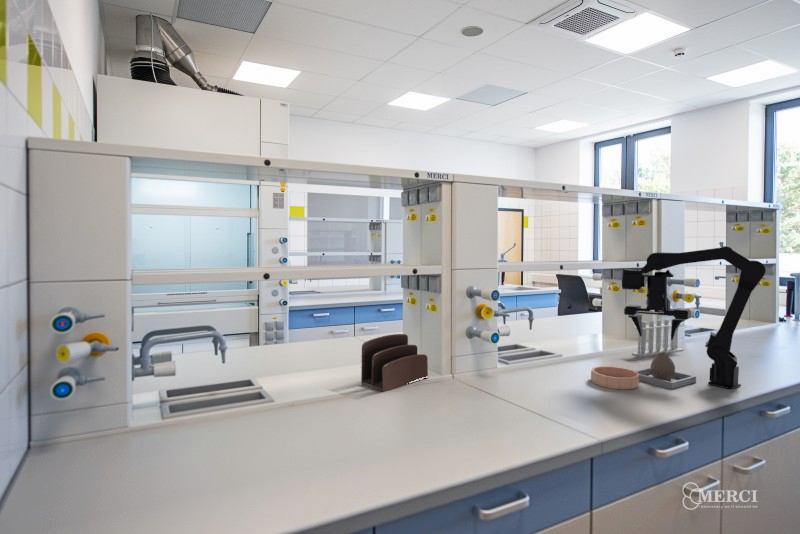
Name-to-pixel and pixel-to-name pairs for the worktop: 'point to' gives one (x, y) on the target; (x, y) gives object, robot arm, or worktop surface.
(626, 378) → the bowl
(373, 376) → the letter holder
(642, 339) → the test tube rack
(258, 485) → the worktop surface
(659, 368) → the vase
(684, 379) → the parts tray
